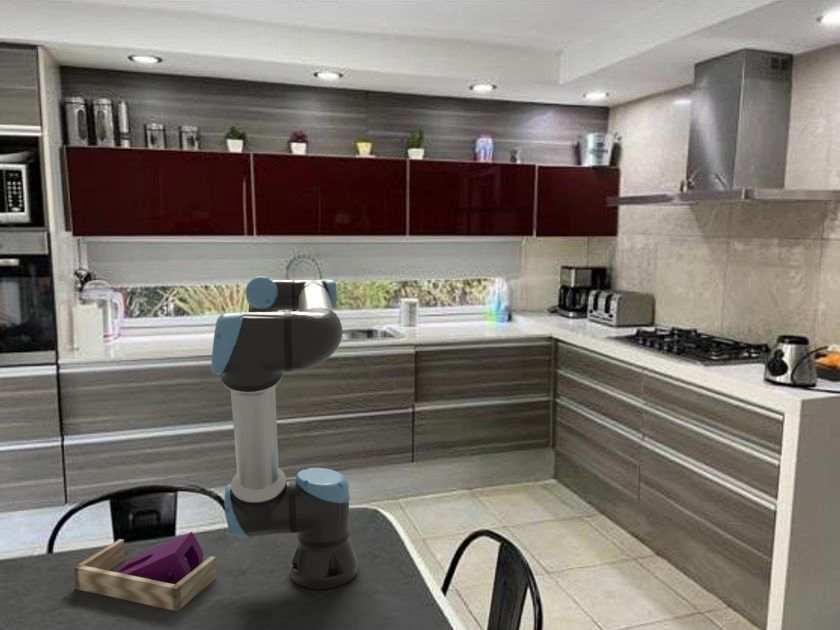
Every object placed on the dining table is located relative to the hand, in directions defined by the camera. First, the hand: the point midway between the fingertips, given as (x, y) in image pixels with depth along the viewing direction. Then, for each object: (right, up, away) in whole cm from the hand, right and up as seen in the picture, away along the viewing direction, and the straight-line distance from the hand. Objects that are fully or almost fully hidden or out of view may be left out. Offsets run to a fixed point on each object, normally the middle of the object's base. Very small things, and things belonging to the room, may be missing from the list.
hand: (246, 431), depth 161 cm
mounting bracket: (-15, -30, -19) cm, 39 cm away
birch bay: (-16, -30, -20) cm, 40 cm away
